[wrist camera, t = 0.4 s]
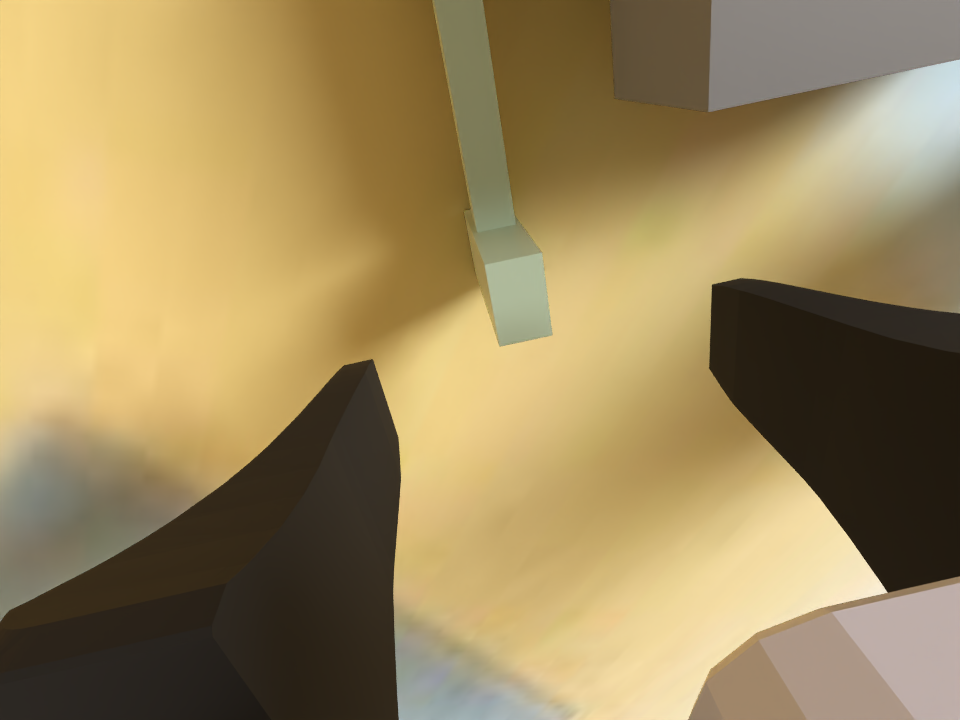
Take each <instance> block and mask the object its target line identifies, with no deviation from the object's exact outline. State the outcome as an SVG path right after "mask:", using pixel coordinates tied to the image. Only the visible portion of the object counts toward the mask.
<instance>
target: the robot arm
mask: <svg viewBox="0 0 960 720" xmlns="http://www.w3.org/2000/svg"><path fill="white" fill-rule="evenodd" d="M709 369H710V370H711V372H712V373H713V375H714V376H715V378H716V380H717V381H718V383H719V384H720V386H721V387H722V389H723V390H724V392H725V393H726V394H727V396H728V397H729V399H730V400H731V401H732V403H733V404H734V405H735V406H736V407H737V409H738V410H739V411H740V412H741V413H742V414H743V415H744V416H745V417H746V418H747V420H748V421H749V422H750V423H751V424H752V425H753V426H754V427H755V428H756V429H757V430H758V431H759V432H760V434H761V435H762V436H763V437H764V438H765V439H766V440H767V441H768V442H769V443H770V444H771V445H772V446H773V447H774V448H775V449H776V450H777V452H778V453H779V454H780V455H781V456H782V457H783V458H784V459H785V460H786V461H787V462H788V463H789V464H790V465H791V466H792V467H793V468H794V469H795V471H796V472H797V473H798V474H799V475H800V476H801V477H802V478H803V479H804V480H805V481H806V483H807V484H808V485H809V486H810V487H811V488H812V490H813V491H814V492H815V493H816V494H817V495H818V497H819V498H820V499H821V500H822V502H823V503H824V504H825V506H826V507H827V508H828V510H829V511H830V512H831V514H832V515H833V516H834V518H835V519H836V520H837V522H838V523H839V524H840V526H841V527H842V528H843V530H844V531H845V532H846V534H847V535H848V536H849V538H850V539H851V540H852V542H853V543H854V545H855V546H856V548H857V549H858V550H859V552H860V553H861V555H862V556H863V558H864V559H865V560H866V562H867V563H868V565H869V566H870V567H871V569H872V570H873V572H874V573H875V575H876V576H877V577H878V579H879V580H880V582H881V583H882V585H883V586H884V588H885V589H886V591H887V592H888V593H885V594H881V595H876V596H872V597H868V598H863V599H859V600H854V601H850V602H846V603H841V604H837V605H833V606H828V607H824V608H820V609H817V610H814V611H812V612H809V613H807V614H804V615H802V616H799V617H796V618H794V619H791V620H789V621H786V622H784V623H781V624H778V625H776V626H773V627H771V628H768V629H766V630H763V631H760V632H758V633H756V634H755V635H753V636H752V637H751V638H750V639H748V640H747V641H746V642H745V643H743V644H742V645H741V646H740V647H738V648H737V649H736V650H734V651H733V652H732V653H731V654H729V655H728V656H727V657H726V658H724V659H723V660H722V661H721V662H719V663H718V664H717V665H716V666H714V667H713V668H712V669H711V670H710V671H709V674H708V676H707V678H706V680H705V682H704V685H703V687H702V689H701V691H700V693H699V695H698V698H697V700H696V702H695V704H694V706H693V709H692V711H691V714H690V716H689V719H688V720H960V314H958V313H949V312H939V311H931V310H923V309H916V308H909V307H903V306H897V305H891V304H885V303H878V302H872V301H867V300H862V299H856V298H851V297H846V296H841V295H836V294H831V293H826V292H821V291H816V290H811V289H806V288H801V287H796V286H791V285H786V284H781V283H775V282H769V281H763V280H756V279H743V278H740V279H736V280H731V281H727V282H722V283H717V284H713V285H712V302H711V333H710V363H709ZM400 483H401V470H400V454H399V440H398V435H397V432H396V429H395V426H394V423H393V420H392V417H391V413H390V410H389V407H388V404H387V401H386V398H385V395H384V392H383V389H382V386H381V383H380V380H379V377H378V374H377V371H376V368H375V364H374V361H373V359H371V360H367V361H362V362H358V363H353V364H349V365H344V366H343V367H342V368H341V369H340V370H339V371H338V372H337V373H336V374H335V375H334V376H333V377H332V378H331V379H330V380H329V382H328V383H327V384H326V385H325V386H324V387H323V388H322V390H321V391H320V392H319V393H318V394H317V395H316V396H315V397H314V399H313V400H312V401H311V402H310V403H309V404H308V405H307V406H306V408H305V409H304V410H303V411H302V412H301V413H300V414H299V415H298V416H297V417H296V418H295V419H294V420H293V421H292V422H291V423H290V424H289V425H288V426H287V427H286V428H285V430H284V431H283V432H282V433H281V434H280V435H279V436H278V437H277V438H276V439H275V440H274V441H273V442H272V443H271V444H270V445H269V446H268V447H267V448H265V449H264V450H263V451H262V452H261V453H260V454H259V455H258V456H257V457H256V458H254V459H253V460H252V461H251V462H250V463H249V464H248V465H246V466H245V467H244V468H243V469H241V470H240V471H239V472H238V473H237V474H235V475H234V476H233V477H232V478H231V479H229V480H228V481H227V482H226V483H224V484H223V485H222V486H220V487H219V488H218V489H216V490H215V491H214V492H212V493H211V494H209V495H208V496H207V497H205V498H204V499H202V500H201V501H199V502H198V503H197V504H195V505H194V506H192V507H191V508H190V509H188V510H187V511H185V512H184V513H183V514H181V515H180V516H178V517H177V518H176V519H174V520H172V521H171V522H169V523H168V524H166V525H165V526H163V527H162V528H160V529H158V530H157V531H155V532H154V533H152V534H150V535H149V536H147V537H146V538H144V539H142V540H141V541H139V542H137V543H136V544H134V545H132V546H131V547H129V548H127V549H125V550H124V551H122V552H120V553H119V554H117V555H115V556H114V557H112V558H110V559H108V560H106V561H105V562H103V563H101V564H99V565H98V566H96V567H94V568H92V569H90V570H88V571H86V572H84V573H82V574H81V575H79V576H77V577H75V578H73V579H71V580H69V581H67V582H65V583H63V584H61V585H59V586H57V587H55V588H53V589H51V590H50V591H48V592H46V593H44V594H42V595H40V596H38V597H36V598H34V599H32V600H30V601H28V602H26V603H24V604H22V605H20V606H18V607H16V608H14V609H12V610H10V611H9V612H8V613H7V614H6V615H5V616H4V618H3V619H2V621H1V622H0V720H399V718H398V702H397V683H396V661H395V638H394V605H393V580H394V562H395V549H396V537H397V524H398V511H399V498H400Z"/></svg>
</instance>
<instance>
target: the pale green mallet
mask: <svg viewBox="0 0 960 720" xmlns="http://www.w3.org/2000/svg"><path fill="white" fill-rule="evenodd" d="M432 3H433V9H434V14H435V19H436V25H437V30H438V35H439V41H440V46H441V52H442V57H443V62H444V68H445V73H446V78H447V84H448V89H449V94H450V100H451V105H452V111H453V116H454V121H455V127H456V132H457V137H458V143H459V148H460V153H461V159H462V164H463V170H464V175H465V180H466V186H467V191H468V196H469V202H470V207H471V209H470V210H465V211H464V216H465V221H466V226H467V231H468V236H469V242H470V247H471V252H472V257H473V262H474V267H475V273H476V276H477V279H478V282H479V286H480V289H481V292H482V295H483V298H484V301H485V304H486V307H487V310H488V313H489V316H490V319H491V322H492V325H493V328H494V331H495V334H496V337H497V340H498V343H499V346H505V345H510V344H514V343H519V342H524V341H528V340H533V339H538V338H542V337H547V336H551V335H552V328H551V320H550V312H549V304H548V296H547V288H546V280H545V272H544V264H543V256H542V252H541V251H540V249H539V248H538V246H537V245H536V244H535V242H534V241H533V240H532V238H531V237H530V235H529V234H528V233H527V231H526V230H525V229H524V227H523V226H522V225H521V223H520V222H519V220H518V219H517V218H516V216H515V215H514V209H513V202H512V195H511V189H510V182H509V175H508V168H507V161H506V155H505V148H504V141H503V134H502V127H501V121H500V114H499V107H498V100H497V94H496V87H495V80H494V73H493V66H492V60H491V53H490V46H489V39H488V33H487V26H486V19H485V12H484V5H483V0H432Z"/></svg>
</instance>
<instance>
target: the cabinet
mask: <svg viewBox="0 0 960 720" xmlns="http://www.w3.org/2000/svg"><path fill="white" fill-rule="evenodd" d="M610 15H611V35H612V56H613V76H614V96H615V99H620V100H627V101H634V102H641V103H648V104H655V105H662V106H669V107H676V108H683V109H690V110H697V111H704V112H711V111H716V110H721V109H726V108H731V107H735V106H740V105H745V104H750V103H754V102H759V101H764V100H769V99H773V98H778V97H783V96H788V95H792V94H797V93H802V92H807V91H811V90H816V89H821V88H826V87H831V86H835V85H840V84H845V83H850V82H854V81H859V80H864V79H869V78H873V77H878V76H883V75H888V74H892V73H897V72H902V71H907V70H911V69H916V68H921V67H926V66H931V65H935V64H940V63H945V62H950V61H954V60H959V59H960V0H610Z"/></svg>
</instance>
